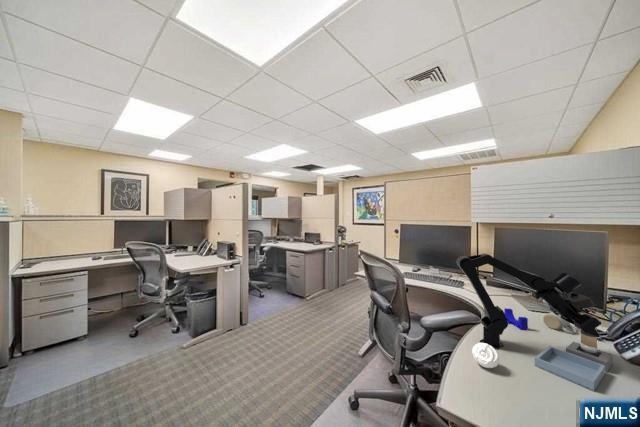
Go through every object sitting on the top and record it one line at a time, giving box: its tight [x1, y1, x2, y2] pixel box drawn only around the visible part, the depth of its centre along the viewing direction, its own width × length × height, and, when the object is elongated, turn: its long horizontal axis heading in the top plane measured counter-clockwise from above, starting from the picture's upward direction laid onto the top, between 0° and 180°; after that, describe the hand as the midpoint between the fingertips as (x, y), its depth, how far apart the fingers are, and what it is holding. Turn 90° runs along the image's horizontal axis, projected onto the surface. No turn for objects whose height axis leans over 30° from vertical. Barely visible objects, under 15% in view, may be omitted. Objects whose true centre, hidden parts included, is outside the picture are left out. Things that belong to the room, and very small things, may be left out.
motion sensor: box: [471, 342, 500, 369], centre depth 82 cm, size 8×8×8 cm
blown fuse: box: [579, 313, 599, 353], centre depth 86 cm, size 4×4×13 cm
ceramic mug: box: [542, 311, 577, 335], centre depth 111 cm, size 11×8×8 cm
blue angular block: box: [503, 308, 529, 331], centre depth 115 cm, size 12×4×6 cm, turn 171°
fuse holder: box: [565, 341, 614, 373], centre depth 86 cm, size 10×10×4 cm
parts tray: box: [534, 345, 607, 392], centre depth 80 cm, size 16×14×3 cm
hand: (593, 333), depth 86 cm, fingers closed on blown fuse, 4 cm apart
